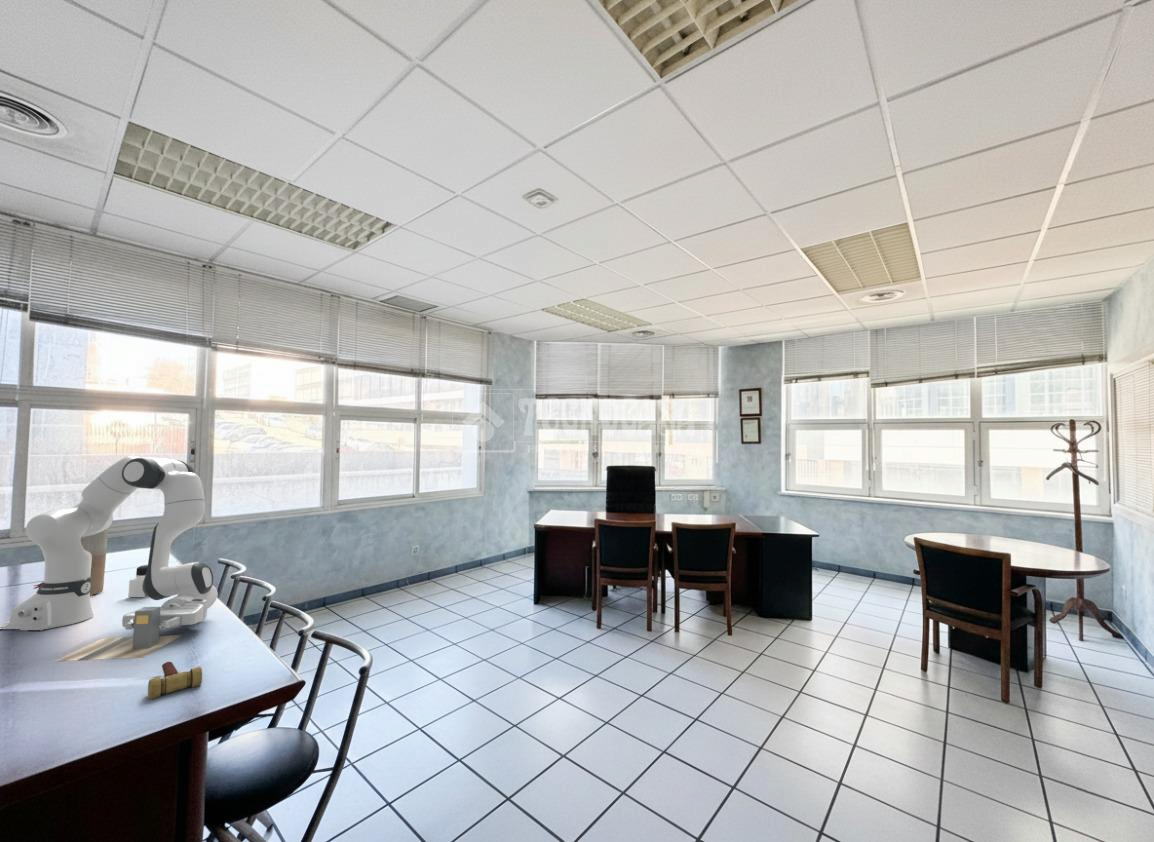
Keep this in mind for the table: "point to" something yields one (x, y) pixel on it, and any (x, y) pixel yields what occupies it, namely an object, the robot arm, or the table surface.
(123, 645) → the board
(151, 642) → the tall grey pillar
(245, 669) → the table surface
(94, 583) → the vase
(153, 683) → the gavel
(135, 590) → the medicine bottle
